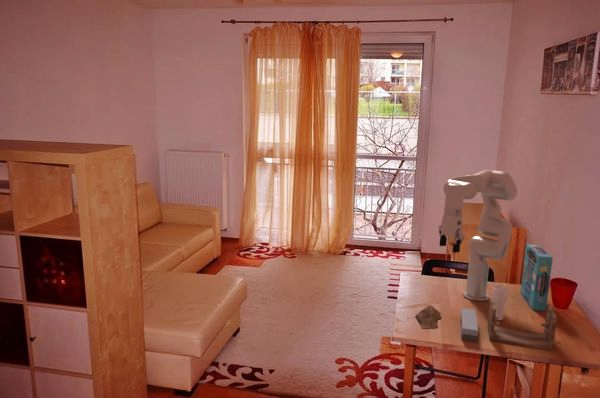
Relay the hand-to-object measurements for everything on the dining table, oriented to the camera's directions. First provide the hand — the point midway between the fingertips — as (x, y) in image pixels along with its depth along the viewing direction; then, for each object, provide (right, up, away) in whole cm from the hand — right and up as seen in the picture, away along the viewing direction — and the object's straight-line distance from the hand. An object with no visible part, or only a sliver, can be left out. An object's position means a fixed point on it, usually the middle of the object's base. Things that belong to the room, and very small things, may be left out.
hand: (449, 249), depth 204 cm
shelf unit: (+26, -37, -11) cm, 46 cm away
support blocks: (+7, -35, -5) cm, 36 cm away
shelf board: (+7, -32, -6) cm, 33 cm away
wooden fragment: (-7, -33, +7) cm, 34 cm away
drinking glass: (+24, -33, +7) cm, 41 cm away
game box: (+50, -29, +26) cm, 64 cm away
